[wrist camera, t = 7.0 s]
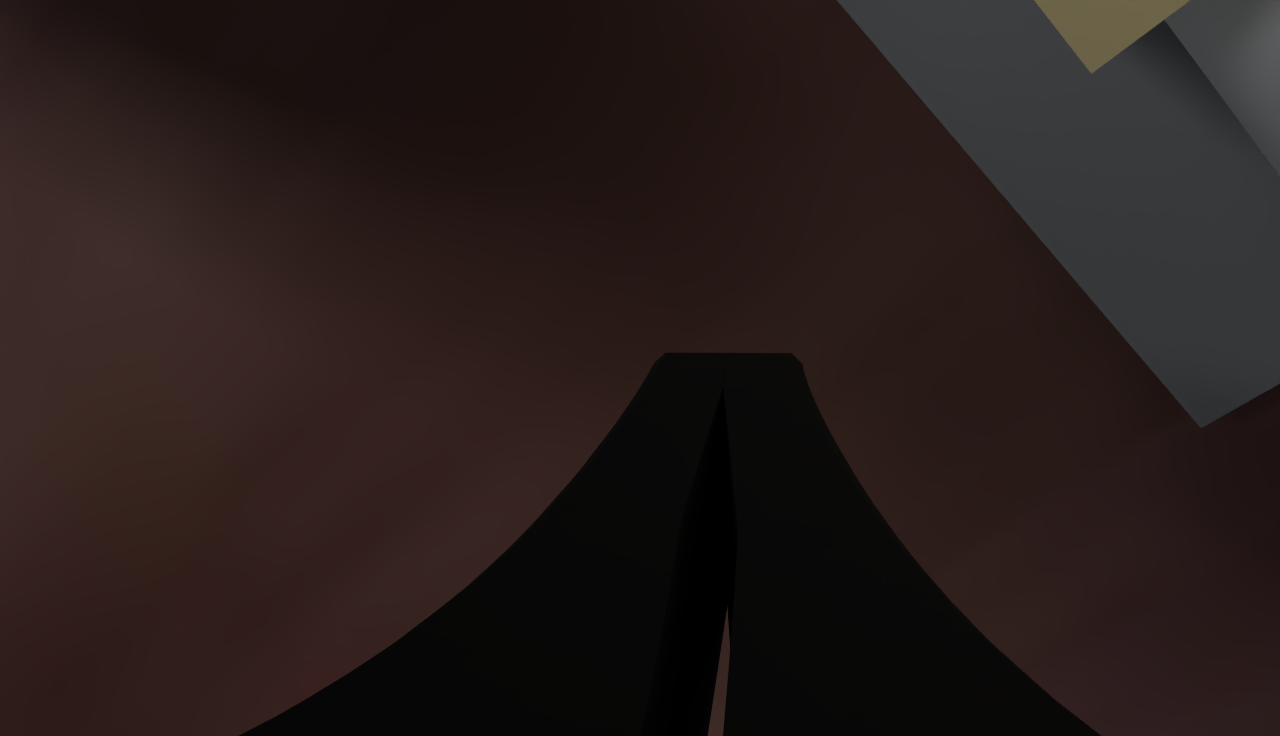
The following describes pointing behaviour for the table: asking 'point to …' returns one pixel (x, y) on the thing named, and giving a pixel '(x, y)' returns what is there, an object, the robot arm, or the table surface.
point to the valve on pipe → (1126, 160)
